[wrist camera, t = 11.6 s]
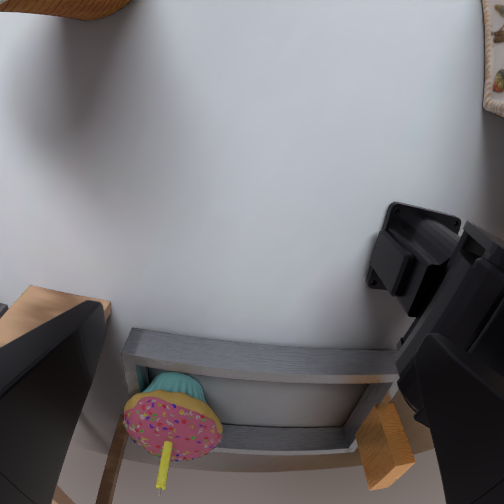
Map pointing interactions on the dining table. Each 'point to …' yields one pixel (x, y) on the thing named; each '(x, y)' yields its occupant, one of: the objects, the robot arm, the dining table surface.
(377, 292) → the dining table surface
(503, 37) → the decorative jar
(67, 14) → the disposable coffee cup
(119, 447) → the small wooden table
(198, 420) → the cupcake
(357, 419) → the grey shallow tray
